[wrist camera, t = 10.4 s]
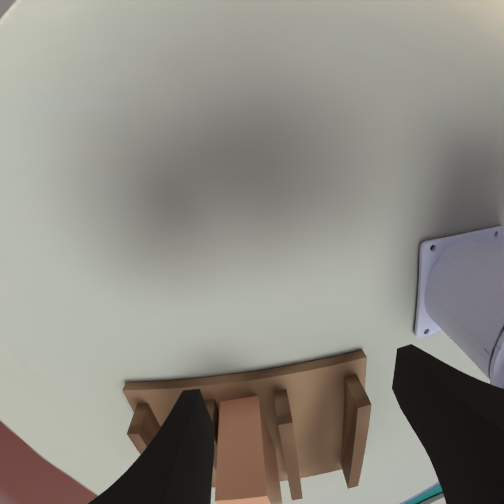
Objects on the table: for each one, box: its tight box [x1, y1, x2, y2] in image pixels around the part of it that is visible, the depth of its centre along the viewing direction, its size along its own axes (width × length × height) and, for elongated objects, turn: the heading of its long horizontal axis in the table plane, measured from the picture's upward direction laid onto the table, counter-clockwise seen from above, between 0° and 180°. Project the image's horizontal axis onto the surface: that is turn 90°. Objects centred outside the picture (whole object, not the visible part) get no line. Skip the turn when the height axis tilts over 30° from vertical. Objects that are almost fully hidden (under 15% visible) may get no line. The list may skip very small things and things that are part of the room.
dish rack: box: [123, 350, 371, 500], centre depth 22 cm, size 19×16×4 cm
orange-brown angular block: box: [215, 396, 282, 504], centre depth 19 cm, size 3×8×9 cm, turn 12°
